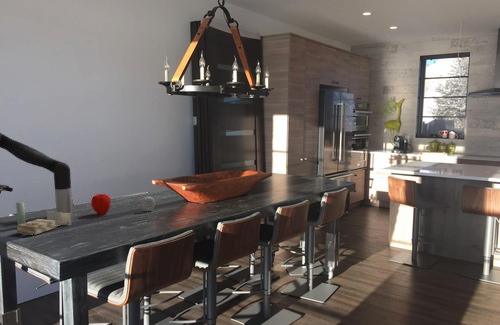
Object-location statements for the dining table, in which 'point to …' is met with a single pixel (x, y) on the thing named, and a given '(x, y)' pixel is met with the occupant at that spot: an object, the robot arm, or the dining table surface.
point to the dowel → (20, 213)
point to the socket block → (36, 226)
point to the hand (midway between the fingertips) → (6, 190)
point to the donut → (145, 200)
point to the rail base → (58, 218)
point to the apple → (101, 203)
